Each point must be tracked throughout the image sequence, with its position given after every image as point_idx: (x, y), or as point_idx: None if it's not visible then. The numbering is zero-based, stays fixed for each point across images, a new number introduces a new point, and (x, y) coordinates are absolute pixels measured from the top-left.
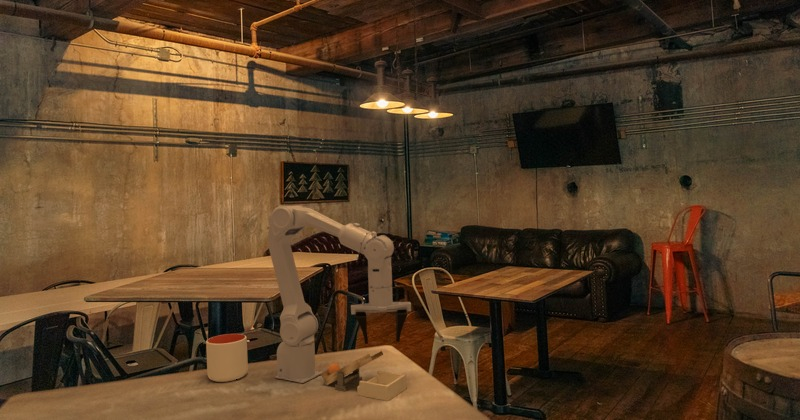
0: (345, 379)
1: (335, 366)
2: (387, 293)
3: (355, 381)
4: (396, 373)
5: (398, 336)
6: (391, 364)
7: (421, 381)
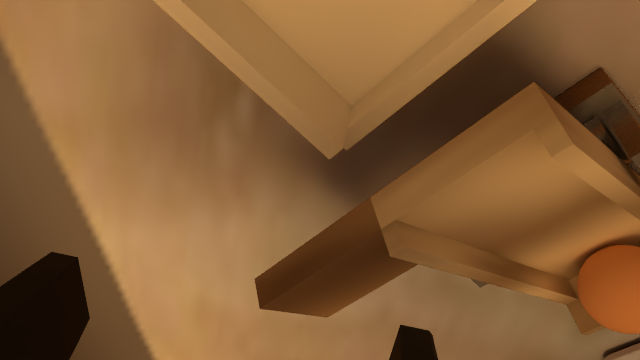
0: None
1: (635, 289)
2: None
3: None
4: (206, 48)
5: (15, 290)
6: (221, 325)
7: (72, 47)
